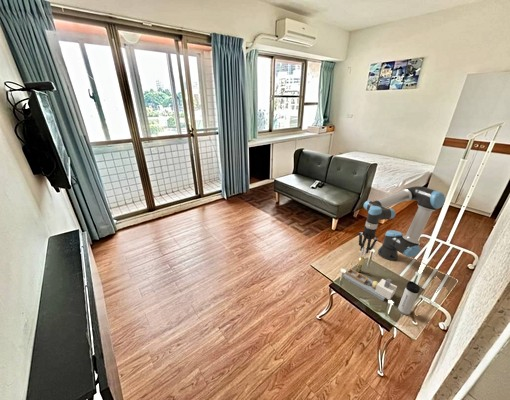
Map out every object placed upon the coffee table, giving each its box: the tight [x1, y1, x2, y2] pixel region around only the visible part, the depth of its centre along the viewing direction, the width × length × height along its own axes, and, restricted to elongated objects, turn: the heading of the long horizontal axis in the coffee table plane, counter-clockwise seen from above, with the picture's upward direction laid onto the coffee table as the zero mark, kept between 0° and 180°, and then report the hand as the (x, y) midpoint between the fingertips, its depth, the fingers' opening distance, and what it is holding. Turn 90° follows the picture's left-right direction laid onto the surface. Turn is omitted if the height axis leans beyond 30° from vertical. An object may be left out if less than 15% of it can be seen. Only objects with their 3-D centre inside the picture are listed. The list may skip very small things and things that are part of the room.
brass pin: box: [355, 256, 365, 273], centre depth 165 cm, size 4×4×12 cm
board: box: [342, 268, 386, 302], centre depth 152 cm, size 12×28×6 cm, turn 41°
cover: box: [375, 277, 398, 301], centre depth 142 cm, size 9×9×10 cm
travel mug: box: [397, 280, 421, 316], centre depth 129 cm, size 6×7×20 cm
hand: (363, 255), depth 161 cm, fingers open, 1 cm apart
